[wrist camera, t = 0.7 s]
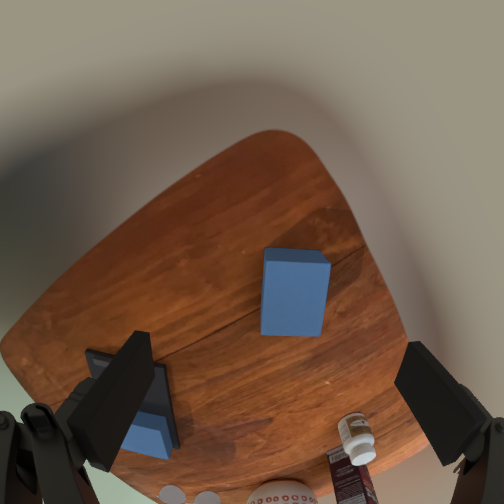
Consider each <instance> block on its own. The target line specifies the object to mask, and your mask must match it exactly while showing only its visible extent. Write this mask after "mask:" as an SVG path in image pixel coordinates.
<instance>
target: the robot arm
mask: <svg viewBox="0 0 504 504" xmlns="http://www.w3.org/2000/svg"><path fill="white" fill-rule="evenodd" d="M154 378H155V372H154V365H153V358H152V350H151V342H150V333H149V332H143V331H136V330H135V331H134V332H133V334H132V335H131V336H130V337H129V339H128V340H127V341H126V343H125V344H124V345H123V346H122V348H121V349H120V350H119V351H118V353H117V354H116V355H115V356H114V358H113V359H112V360H111V362H110V363H109V364H108V366H107V367H106V368H105V369H104V371H103V372H102V373H101V375H100V376H99V377H98V379H97V380H96V379H93V378H90V377H88V378H86V379H85V380H83V381H81V382H80V383H79V384H78V385H77V386H76V387H75V389H74V390H73V392H71V394H70V395H69V397H68V398H67V399H66V400H65V401H64V402H63V404H62V405H61V406H60V407H59V409H58V410H57V411H56V413H55V414H53V412H52V410H51V408H50V407H49V406H47V405H46V404H43V403H33V404H29V405H28V406H26V407H25V408H24V409H23V410H22V412H21V419H22V421H23V423H24V424H23V423H19V422H17V421H16V420H15V418H14V416H13V415H12V414H11V413H9V412H6V411H0V504H43V501H44V504H100V503H99V501H98V499H97V497H96V495H95V492H94V490H93V487H92V485H91V482H90V480H89V477H88V475H87V472H86V469H85V467H84V466H83V464H84V462H85V460H86V459H87V460H88V462H89V463H90V465H91V466H92V467H95V468H97V469H100V470H103V471H105V472H109V471H110V469H111V466H112V464H113V462H114V460H115V458H116V456H117V454H118V451H119V449H120V447H121V445H122V443H123V441H124V439H125V437H126V435H127V433H128V431H129V428H130V426H131V424H132V422H133V420H134V418H135V416H136V414H137V412H138V410H139V408H140V406H141V404H142V402H143V400H144V398H145V396H146V394H147V392H148V390H149V388H150V386H151V384H152V382H153V380H154ZM394 384H395V385H396V387H397V388H398V390H399V392H400V393H401V395H402V396H403V398H404V400H405V401H406V403H407V405H408V406H409V408H410V409H411V411H412V413H413V414H414V416H415V418H416V420H417V421H418V423H419V425H420V426H421V428H422V430H423V431H424V433H425V435H426V437H427V438H428V440H429V442H430V444H431V445H432V447H433V449H434V451H435V452H436V454H437V456H438V458H439V460H440V461H441V463H442V465H443V466H446V465H449V464H450V463H453V462H456V460H457V459H458V458H459V457H460V456H461V454H462V453H463V454H464V455H465V458H464V459H463V460H462V461H461V462H460V463H459V465H458V466H457V467H456V468H455V469H454V471H453V473H455V472H456V471H457V470H458V469H459V468H460V471H459V472H458V474H459V476H458V479H457V483H456V487H455V490H454V494H453V497H452V500H451V503H450V504H504V418H501V417H497V418H493V417H492V416H491V415H490V414H489V412H488V411H487V410H486V409H485V408H484V406H483V405H482V404H481V403H480V402H479V401H478V399H477V398H476V397H475V396H474V395H473V394H472V392H471V391H470V390H469V389H468V388H466V387H465V386H463V385H462V384H459V383H458V382H457V381H456V380H455V379H454V378H453V377H452V375H450V374H449V372H448V371H447V370H446V369H445V368H444V367H443V366H442V364H441V363H440V362H439V361H438V360H437V359H436V358H435V357H434V356H433V355H432V353H431V352H430V351H429V350H428V349H427V348H426V347H425V346H424V345H423V344H422V343H421V342H420V341H415V342H409V343H408V346H407V349H406V352H405V355H404V358H403V361H402V363H401V366H400V369H399V371H398V374H397V377H396V379H395V382H394ZM42 497H43V500H42Z"/></svg>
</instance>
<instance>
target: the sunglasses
mask: <svg viewBox="0 0 504 504" xmlns="http://www.w3.org/2000/svg"><path fill="white" fill-rule="evenodd" d="M157 497H158V498H159V499H160V500H161V501H162V502H164V503H167V504H182V503H183V502H185V500H186V499H187V498H186V495H185V494H184V493H183V492H182V490H181V489H180V488H178V487H177V486H174V485H166V486H164V487H163V488H162V489H161V491H160V493H159V496H157ZM193 500H194V503H192V504H221V500H220V497H219V496H218V495H217V494H216V493H215V492H212V491H204V492H201V493H200V494H198V495H197V496H196V497H195V498H194V499H193ZM185 503H186V502H185ZM187 504H190V503H187Z"/></svg>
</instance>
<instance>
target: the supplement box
mask: <svg viewBox="0 0 504 504" xmlns="http://www.w3.org/2000/svg"><path fill="white" fill-rule="evenodd" d="M326 454H327V458H328V463H329V467H330V472H331V477H332V482H333V486H334V491H335V496H336V501H337V504H378V500H377V497H376V494H375V490H374V487H373V484H372V481H371V478H370V475H369V472H368V469H367V466H366V464H363V465H359V466H355V465H353V464H352V463H351V460H350V455H349V454H347V453H346V452H345V451H344V448H343V445H342V446H339V447H337V448H335V449H332V450H330V451H328V452H326Z"/></svg>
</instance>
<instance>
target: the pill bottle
mask: <svg viewBox="0 0 504 504" xmlns="http://www.w3.org/2000/svg"><path fill="white" fill-rule="evenodd" d="M338 430H339V433H340V437H341V441H342V444H343V448H344V451H345V452H346V453H347V454H349V455H350V460H351V463H352V464H353V465H355V466H359V465H363V464H366V463H368V462H370V461H372V460H373V459H374V458H375V457H376V452H375V449H374V447H373V444H374V437H373V434H372V432H371V429H370V427H369V424H368V422H367V419H366V417H365V415H363V414H361V413H352V414H349V415H347V416H345V417H343V418H342V419H341V420H340V422H339V423H338Z"/></svg>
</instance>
